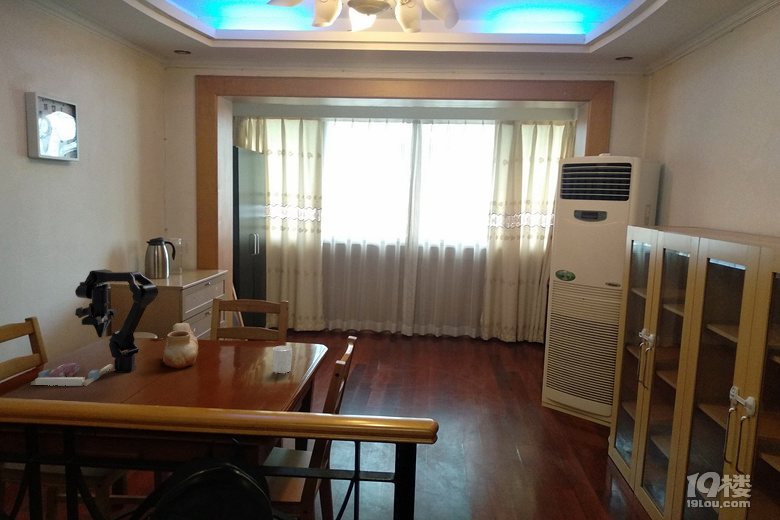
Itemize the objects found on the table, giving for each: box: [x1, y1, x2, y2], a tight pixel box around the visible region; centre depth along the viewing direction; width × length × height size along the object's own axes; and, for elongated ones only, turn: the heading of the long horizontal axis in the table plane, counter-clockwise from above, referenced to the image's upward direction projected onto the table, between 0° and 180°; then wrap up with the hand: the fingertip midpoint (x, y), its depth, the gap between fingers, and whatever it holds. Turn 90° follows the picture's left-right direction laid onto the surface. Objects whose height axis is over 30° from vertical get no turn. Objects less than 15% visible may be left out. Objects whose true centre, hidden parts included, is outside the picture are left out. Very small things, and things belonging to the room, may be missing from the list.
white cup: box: [272, 345, 293, 373], centre depth 211 cm, size 8×8×10 cm
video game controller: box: [49, 362, 81, 377], centre depth 194 cm, size 10×5×7 cm, turn 157°
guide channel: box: [30, 363, 114, 387], centre depth 197 cm, size 20×22×3 cm
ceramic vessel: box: [162, 322, 199, 369], centre depth 221 cm, size 14×26×15 cm, turn 19°
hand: (100, 337), depth 210 cm, fingers closed
